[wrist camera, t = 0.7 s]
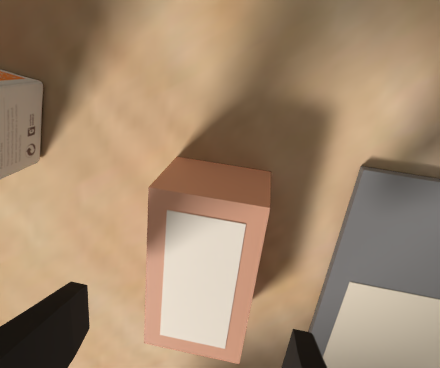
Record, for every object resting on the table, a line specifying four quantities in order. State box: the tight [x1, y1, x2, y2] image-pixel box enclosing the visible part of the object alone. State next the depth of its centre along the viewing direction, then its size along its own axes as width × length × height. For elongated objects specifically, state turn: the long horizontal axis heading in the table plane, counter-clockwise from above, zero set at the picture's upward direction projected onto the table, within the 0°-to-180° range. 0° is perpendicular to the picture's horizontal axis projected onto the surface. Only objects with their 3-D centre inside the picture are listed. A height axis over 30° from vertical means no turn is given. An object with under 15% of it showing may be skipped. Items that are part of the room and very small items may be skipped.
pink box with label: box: [144, 157, 271, 364], centre depth 15 cm, size 8×4×4 cm, turn 173°
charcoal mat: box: [309, 166, 440, 368], centre depth 17 cm, size 18×12×1 cm, turn 173°
